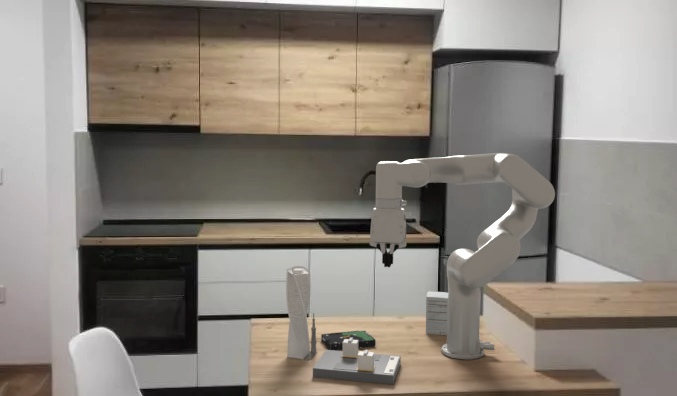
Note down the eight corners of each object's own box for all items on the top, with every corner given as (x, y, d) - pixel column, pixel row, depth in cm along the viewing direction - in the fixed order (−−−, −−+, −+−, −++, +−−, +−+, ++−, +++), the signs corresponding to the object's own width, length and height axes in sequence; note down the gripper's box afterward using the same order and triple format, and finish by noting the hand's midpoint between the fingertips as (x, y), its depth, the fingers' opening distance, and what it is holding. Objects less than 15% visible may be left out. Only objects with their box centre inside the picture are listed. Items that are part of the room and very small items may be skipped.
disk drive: (330, 353, 197) (376, 347, 202) (330, 344, 197) (376, 339, 202) (320, 342, 207) (364, 337, 212) (320, 333, 207) (364, 329, 212)
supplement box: (426, 327, 221) (427, 290, 220) (448, 328, 220) (449, 292, 219) (425, 334, 214) (425, 296, 213) (447, 335, 213) (448, 297, 211)
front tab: (374, 366, 178) (374, 350, 177) (372, 370, 175) (372, 354, 174) (359, 365, 179) (359, 349, 178) (357, 369, 176) (357, 352, 175)
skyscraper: (307, 363, 188) (307, 268, 185) (281, 359, 191) (281, 265, 188) (317, 353, 196) (317, 262, 193) (292, 350, 199) (292, 260, 196)
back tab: (358, 353, 188) (358, 338, 187) (356, 357, 185) (356, 341, 184) (344, 352, 189) (344, 337, 188) (342, 355, 186) (342, 340, 185)
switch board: (400, 364, 187) (400, 355, 187) (393, 384, 172) (393, 374, 172) (325, 357, 192) (325, 349, 191) (312, 377, 177) (312, 367, 177)
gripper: (415, 203, 191) (414, 265, 193) (365, 201, 194) (364, 262, 196) (412, 206, 183) (411, 270, 185) (360, 204, 187) (360, 267, 189)
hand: (387, 266), depth 191 cm, fingers closed
